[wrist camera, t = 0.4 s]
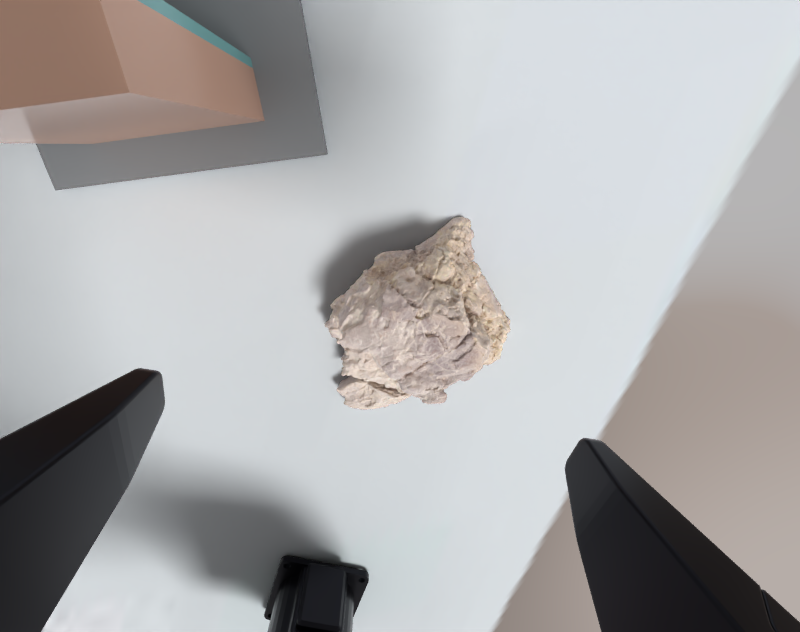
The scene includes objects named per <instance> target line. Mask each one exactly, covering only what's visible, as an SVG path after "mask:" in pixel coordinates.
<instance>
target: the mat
mask: <svg viewBox="0 0 800 632" xmlns="http://www.w3.org/2000/svg"><path fill="white" fill-rule="evenodd" d="M163 1H165V2H166V3H168V4H169V5H171V6H172V7H174V8H176V9H177V10H179V11H180V12H182V13H183V14H185V15H186V16H188V17H189V18H191V19H192V20H194V21H195V22H197V23H198V24H200V25H201V26H203V27H204V28H206V29H207V30H209V31H211V32H212V33H214V34H215V35H217V36H218V37H220V38H221V39H223V40H224V41H226V42H227V43H229V44H230V45H232V46H233V47H235V48H236V49H238V50H239V51H241V52H242V53H244V54H246V55H247V56H249V57H250V58H251V61H252V66H253V70H254V75H255V79H256V84H257V88H258V93H259V97H260V102H261V106H262V111H263V116H264V120H265V121H260V122H252V123H245V124H238V125H230V126H223V127H215V128H208V129H200V130H193V131H185V132H178V133H170V134H163V135H155V136H148V137H141V138H133V139H126V140H118V141H111V142H103V143H96V144H36V145H37V147H38V150H39V152H40V155H41V157H42V159H43V162H44V164H45V167H46V169H47V171H48V174H49V176H50V179H51V181H52V183H53V186H54V188H55V190H62V189H69V188H77V187H84V186H92V185H99V184H107V183H114V182H122V181H130V180H137V179H145V178H152V177H160V176H167V175H175V174H182V173H190V172H197V171H205V170H213V169H220V168H228V167H235V166H243V165H250V164H258V163H265V162H273V161H280V160H288V159H295V158H303V157H311V156H318V155H326V154H328V153H327V148H326V142H325V136H324V130H323V125H322V119H321V113H320V108H319V102H318V96H317V90H316V85H315V79H314V73H313V68H312V62H311V56H310V50H309V45H308V39H307V33H306V28H305V22H304V16H303V11H302V5H301V0H163Z"/></svg>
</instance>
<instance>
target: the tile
mask: <svg viewBox="0 0 800 632" xmlns="http://www.w3.org/2000/svg"><path fill="white" fill-rule="evenodd" d="M260 121H265V120H264V116H263V111H262V106H261V102H260V97H259V93H258V88H257V84H256V79H255V75H254V70H253V66H252V61H251V58H250V57H249V56H247V55H246V54H244V53H242V52H241V51H239V50H238V49H236V48H235V47H233V46H232V45H230V44H229V43H227V42H226V41H224V40H223V39H221V38H220V37H218V36H217V35H215V34H214V33H212V32H211V31H209V30H207V29H206V28H204V27H203V26H201V25H200V24H198V23H197V22H195V21H194V20H192V19H191V18H189V17H188V16H186V15H185V14H183V13H182V12H180V11H179V10H177V9H176V8H174V7H172V6H171V5H169V4H168V3H166V2H165V1H163V0H0V143H30V144H96V143H103V142H111V141H118V140H126V139H133V138H141V137H148V136H155V135H163V134H170V133H178V132H185V131H193V130H200V129H208V128H215V127H223V126H230V125H238V124H245V123H252V122H260Z"/></svg>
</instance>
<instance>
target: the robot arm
mask: <svg viewBox="0 0 800 632" xmlns="http://www.w3.org/2000/svg"><path fill="white" fill-rule="evenodd" d="M164 405H165V397H164V388H163V379H162V375H161V373H160V372H159V371H156V370H149V369H143V368H138V369H135V370H133V371H131V372H129V373H127V374H125V375H123V376H121V377H119V378H117V379H115V380H113V381H112V382H110V383H108V384H106V385H104V386H102V387H100V388H98V389H96V390H94V391H92V392H90V393H88V394H86V395H84V396H82V397H80V398H79V399H77V400H75V401H73V402H71V403H69V404H67V405H65V406H63V407H61V408H59V409H57V410H55V411H53V412H51V413H49V414H48V415H46V416H44V417H42V418H40V419H38V420H36V421H34V422H32V423H30V424H28V425H26V426H24V427H22V428H20V429H18V430H16V431H15V432H13V433H11V434H9V435H7V436H5V437H3V438H1V439H0V632H41V631H42V629H43V627H44V626H45V624H46V622H47V621H48V619H49V617H50V616H51V614H52V612H53V611H54V609H55V607H56V606H57V604H58V602H59V601H60V599H61V597H62V596H63V594H64V592H65V591H66V589H67V587H68V586H69V584H70V582H71V581H72V579H73V577H74V576H75V574H76V572H77V571H78V569H79V567H80V566H81V564H82V562H83V561H84V559H85V557H86V556H87V554H88V552H89V551H90V549H91V547H92V546H93V544H94V542H95V541H96V539H97V537H98V536H99V534H100V532H101V531H102V529H103V527H104V526H105V524H106V522H107V521H108V519H109V517H110V515H111V514H112V512H113V510H114V509H115V507H116V505H117V504H118V502H119V500H120V499H121V497H122V495H123V494H124V492H125V490H126V489H127V487H128V485H129V483H130V481H131V479H132V477H133V475H134V473H135V471H136V469H137V467H138V465H139V463H140V460H141V458H142V456H143V454H144V452H145V449H146V447H147V445H148V443H149V441H150V439H151V436H152V434H153V432H154V430H155V428H156V426H157V423H158V421H159V419H160V417H161V415H162V412H163V409H164ZM565 474H566V480H567V486H568V492H569V498H570V504H571V510H572V516H573V522H574V528H575V533H576V538H577V542H578V546H579V551H580V554H581V558H582V562H583V565H584V569H585V573H586V576H587V580H588V584H589V588H590V591H591V595H592V599H593V602H594V606H595V609H596V613H597V617H598V621H599V624H600V628H601V632H800V622H799V621H797V619H795V618H794V617H793V616H792V615H791V614H790V613H789V612H787V611H786V610H785V609H784V608H783V607H782V606H781V605H780V604H779V603H778V602H777V601H776V600H775V599H773V598H772V597H771V596H770V595H769V594H768V593H767V592H766V591H765V590H761V588H760V586H759V585H758V584H757V583H756V582H755V581H754V580H753V579H751V577H749V576H748V575H747V574H746V573H745V572H744V571H743V570H742V569H741V568H740V567H738V566H737V565H736V564H735V563H734V562H733V561H732V560H731V559H730V558H729V557H728V556H726V555H725V554H724V553H723V552H722V551H721V550H720V549H719V548H718V547H717V546H716V545H715V544H714V543H712V542H711V541H710V540H709V539H708V538H707V537H706V536H705V535H704V534H703V533H702V532H700V531H699V530H698V529H697V528H696V527H695V526H694V525H693V524H692V523H691V522H690V521H688V520H687V519H686V518H685V517H684V516H683V515H682V514H681V513H680V512H679V511H678V510H676V509H675V508H674V507H673V506H672V505H671V504H670V503H669V502H668V501H667V500H666V499H664V498H663V497H662V496H661V495H660V494H659V493H658V492H657V491H656V490H655V489H654V488H653V487H651V486H650V485H649V484H648V483H647V482H646V481H645V480H644V479H643V478H642V477H640V476H639V475H638V474H637V473H636V472H635V471H634V470H633V469H632V468H631V467H630V466H629V465H627V464H626V463H625V462H624V461H623V460H622V459H621V458H620V457H619V456H618V455H617V454H615V453H614V452H613V451H612V450H611V449H610V448H609V447H608V446H607V445H606V444H605V443H603V442H602V441H600V440H595V439H589V438H583V439H581V440H580V441H579V442H578V444H577V445H576V447H575V448H574V450H573V452H572V453H571V455H570V456H569V458H568V460H567V462H566V465H565ZM368 580H369V574H368V572H366V571H364V570H358V569H353V568H348V567H343V566H338V565H333V564H328V563H323V562H317V561H312V560H307V559H302V558H297V557H292V556H284V557H283V558H282V559H281V561H280V565H279V568H278V571H277V574H276V578H275V581H274V584H273V587H272V591H271V594H270V597H269V600H268V604H267V607H266V610H265V614H264V617H265V618H266V619H268V620H270V624H269V628H268V632H352V624H353V617H354V614H355V612H356V610H357V607H358V605H359V602H360V600H361V598H362V595H363V593H364V591H365V588H366V586H367V584H368Z"/></svg>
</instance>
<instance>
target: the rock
mask: <svg viewBox="0 0 800 632" xmlns="http://www.w3.org/2000/svg"><path fill="white" fill-rule="evenodd" d="M470 228H471V225H470V220H469V219H467V218H464V217H456V218H453V219H451V220H450V221H449V222H448V223H447V224H446V225H445V226H443V227H442V228H441V229H439V230H438V231H437V233H435V235H433V236H432V237H431V238H428V239H427V240H426V241H424V242H423V243H421V244H420V245H416V246H415V250H412V249H409V250H404V251H402V250H397V251H387V252H382V253H380V254H379V255H377V256H376V257H375V259H374V261H375V262H374V264H373V266H372V267H371V268H370V269H367V270H364V271H363V274H362V275H361V276H360V277H359V279H357V280H356V282H355V283H354V284H353V285H351V286H350V288H349V290H348V291H346V293H345V294H343V295H340V296H339V297H338V298H336V299H335V300H334V301H333V302H332V304H331V305H330V306H331V309H333V311H332V314H331V315H330V319H329V321H326V322H325V327H327V328H328V329H329V332H330V334H331V336H332V337H334V338H336V339H338V340H337V344H340V345H341V346H342V347H343V348H344V351H345V352H344V355H343V356H342V358H341V360H343V363H342V364H343V366H344V367H342V373H341V375H342V376H345V375H347V376H349V375H352V376H349V377H348V378H347V379H344V380H342V381H341V382H340V384H339V387H338V388H337V391H338V392H339V393H340V394H341V395H342V396H344V397H345V402H344V404H345V405H347V406H349V407H352V408H356V409H357V408H359V409H363V410H367V409H376V408H381V407H387V406H389V404H397V403H398V402H401V401H402V400H405V399H406V398H408V397H410V396H411V395H413V396H414V397H418V398H420V399H421V400H422V402H424V403H426V404H437V403H438V404H440V403H443V402H445V401H446V398H447V394H446V393H445V392H444V389H446V388H448V386H450V385H452V384H454V383H456V382H457V381H459V380H462V381H466V380H469V379H470V378H471V377H472V376H473V375H474V374H475V373H476V372H478V371H479V370H481V369H482V368H483V365H489V364H492V363H493V362H494V361H496V360H497V359H499V358H500V356H501V355H500V354H501V351H502V350H503V349H502V346H503V343H504V342H505V341H506V338H507V333H508V332H510V330H511V329H510V327H509V325H510V319H508V318H507V317H506V315H505V312H504V311H503V310H501V305H500V303H499V302H498V301H497V299H496V297H495V295H494V291H492V289H491V288H490V286H489V285H488V282H487V281H486V279H485V277H484V276H483V275H482V274H481V271H480V268H479V266H478V265H477V264H476V263H475V262H472V260H473V259H474V255H473V253H474V250H473V248H472V246H471V240H472V238H473V237H474V232H473V231H472V230H471V229H470Z"/></svg>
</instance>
